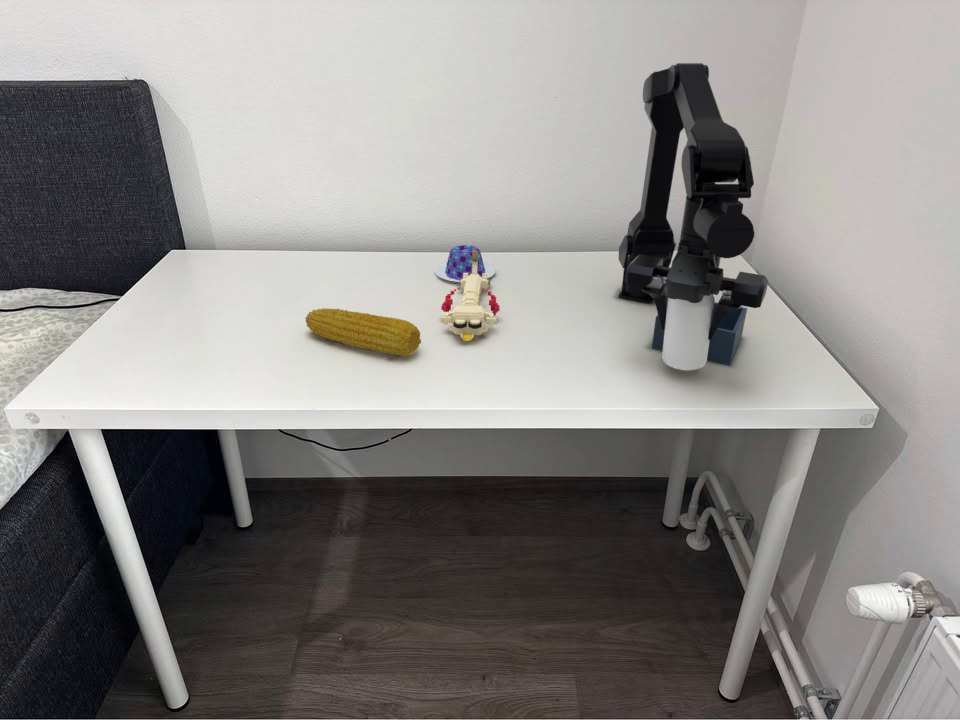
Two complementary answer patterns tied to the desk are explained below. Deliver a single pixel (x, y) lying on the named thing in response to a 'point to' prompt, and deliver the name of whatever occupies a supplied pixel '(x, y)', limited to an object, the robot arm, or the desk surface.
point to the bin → (715, 336)
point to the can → (687, 333)
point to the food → (365, 330)
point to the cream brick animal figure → (470, 305)
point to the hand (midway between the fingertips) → (686, 334)
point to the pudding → (462, 264)
